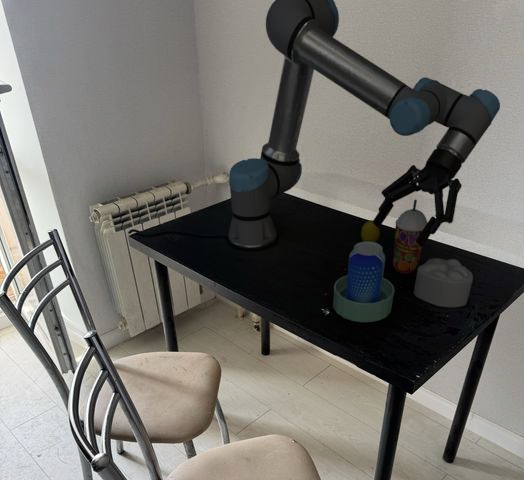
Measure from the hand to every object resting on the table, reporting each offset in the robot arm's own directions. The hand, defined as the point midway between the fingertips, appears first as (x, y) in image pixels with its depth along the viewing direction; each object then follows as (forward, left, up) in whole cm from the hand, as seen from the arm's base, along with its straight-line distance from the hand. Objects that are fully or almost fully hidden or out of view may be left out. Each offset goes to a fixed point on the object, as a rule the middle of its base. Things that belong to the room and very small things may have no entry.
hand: (396, 234), depth 120 cm
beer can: (-7, -6, -17) cm, 19 cm away
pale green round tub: (-7, -6, -17) cm, 19 cm away
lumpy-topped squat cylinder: (+14, -1, -17) cm, 22 cm away
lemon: (-1, +28, -17) cm, 33 cm away
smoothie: (+7, +13, -17) cm, 23 cm away
